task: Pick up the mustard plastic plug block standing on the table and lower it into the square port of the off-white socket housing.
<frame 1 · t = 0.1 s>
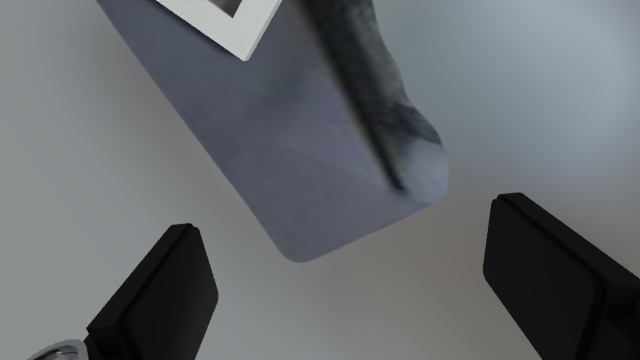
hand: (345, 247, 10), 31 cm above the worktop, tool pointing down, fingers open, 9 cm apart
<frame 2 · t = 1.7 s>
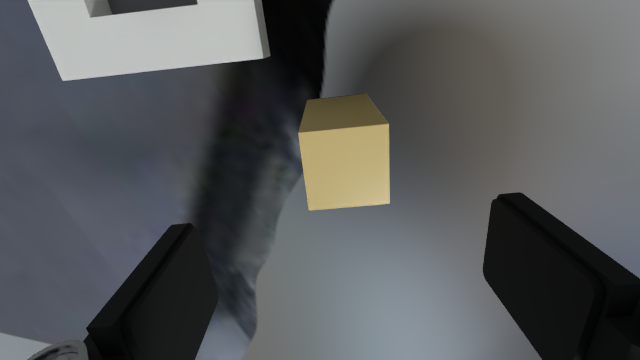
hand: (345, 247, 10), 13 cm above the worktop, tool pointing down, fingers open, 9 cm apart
plug block: (338, 125, 22), on the worktop
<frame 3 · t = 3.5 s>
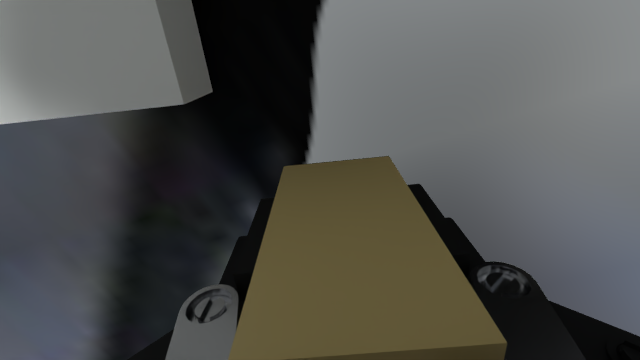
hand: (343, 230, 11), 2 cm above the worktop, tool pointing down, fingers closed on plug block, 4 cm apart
plug block: (339, 207, 13), on the worktop, touching gripper
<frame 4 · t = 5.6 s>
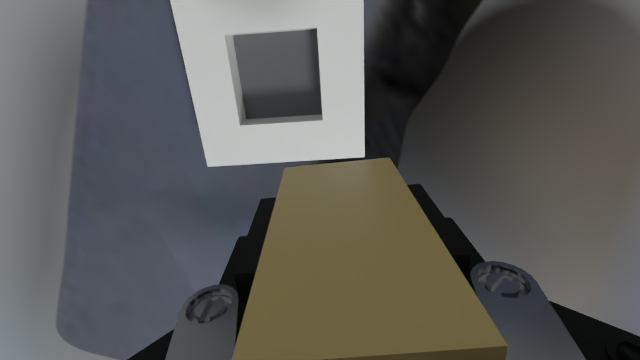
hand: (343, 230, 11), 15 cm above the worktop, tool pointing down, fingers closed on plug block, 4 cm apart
socket housing: (280, 76, 23), on the worktop
plug block: (340, 208, 13), point 14 cm above the worktop, touching gripper
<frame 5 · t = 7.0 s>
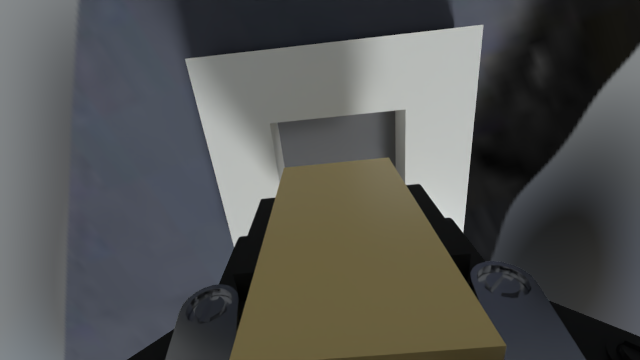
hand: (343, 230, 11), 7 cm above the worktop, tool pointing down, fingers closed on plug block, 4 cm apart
socket housing: (339, 160, 17), on the worktop
plug block: (340, 208, 13), point 5 cm above the worktop, touching gripper
when the fingers open (4 cm above the worktop, at t = 8.0 s): plug block drops 1 cm, resting on socket housing.
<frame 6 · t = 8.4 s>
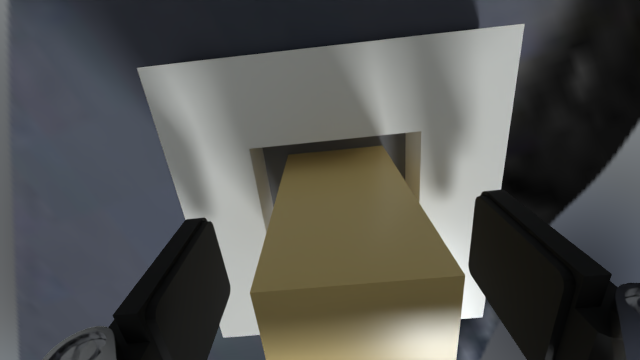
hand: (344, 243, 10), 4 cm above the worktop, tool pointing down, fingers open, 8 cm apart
socket housing: (337, 187, 14), on the worktop
plug block: (338, 192, 14), resting on socket housing
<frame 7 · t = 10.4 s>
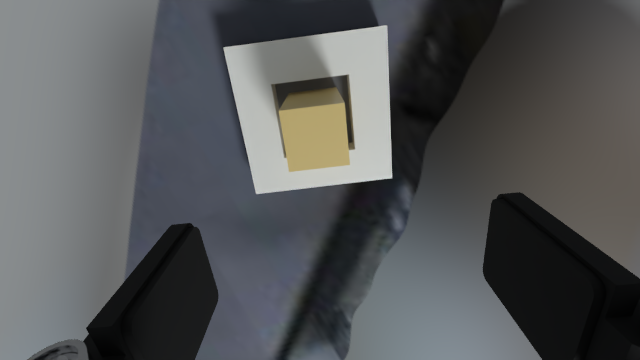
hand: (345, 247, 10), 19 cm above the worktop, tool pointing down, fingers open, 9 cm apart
socket housing: (314, 112, 27), on the worktop
plug block: (315, 113, 27), resting on socket housing
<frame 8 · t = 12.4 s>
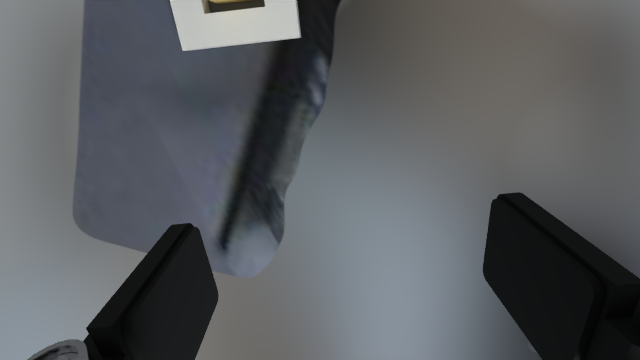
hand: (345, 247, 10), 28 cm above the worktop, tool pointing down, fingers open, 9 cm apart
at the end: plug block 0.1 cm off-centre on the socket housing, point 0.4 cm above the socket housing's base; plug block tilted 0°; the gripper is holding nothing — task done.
